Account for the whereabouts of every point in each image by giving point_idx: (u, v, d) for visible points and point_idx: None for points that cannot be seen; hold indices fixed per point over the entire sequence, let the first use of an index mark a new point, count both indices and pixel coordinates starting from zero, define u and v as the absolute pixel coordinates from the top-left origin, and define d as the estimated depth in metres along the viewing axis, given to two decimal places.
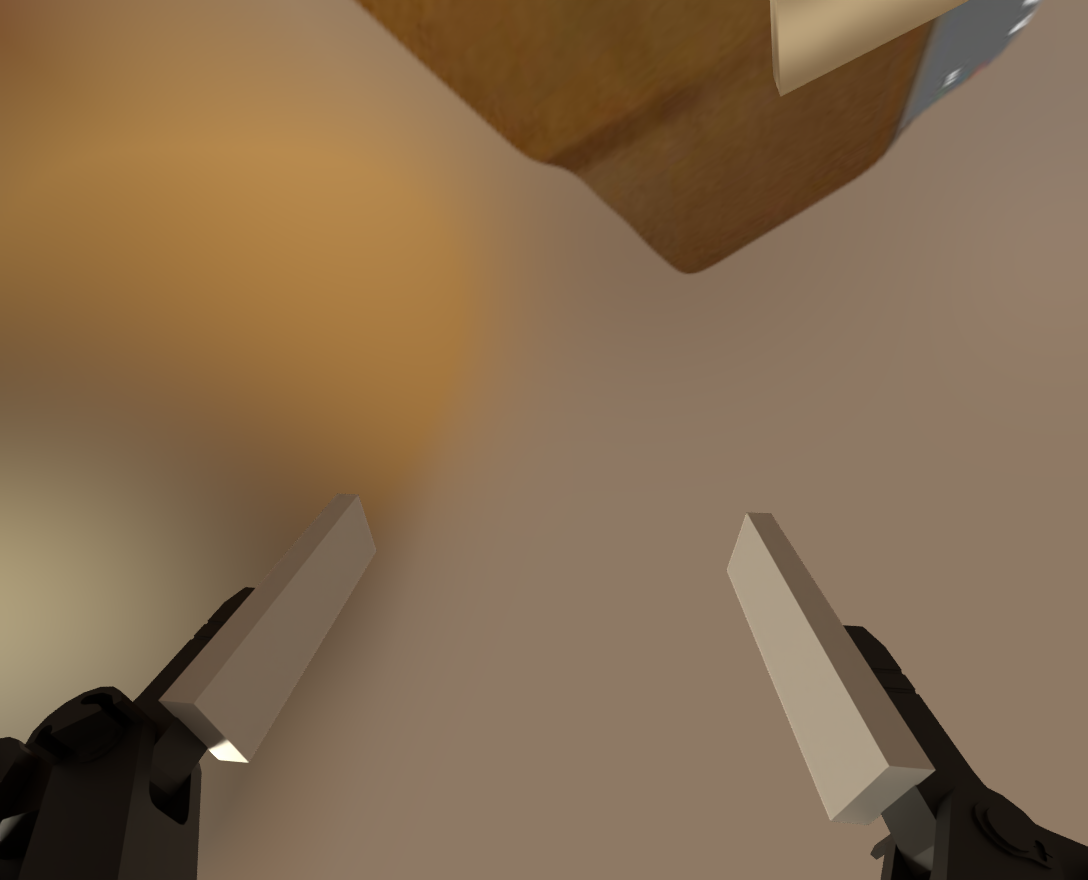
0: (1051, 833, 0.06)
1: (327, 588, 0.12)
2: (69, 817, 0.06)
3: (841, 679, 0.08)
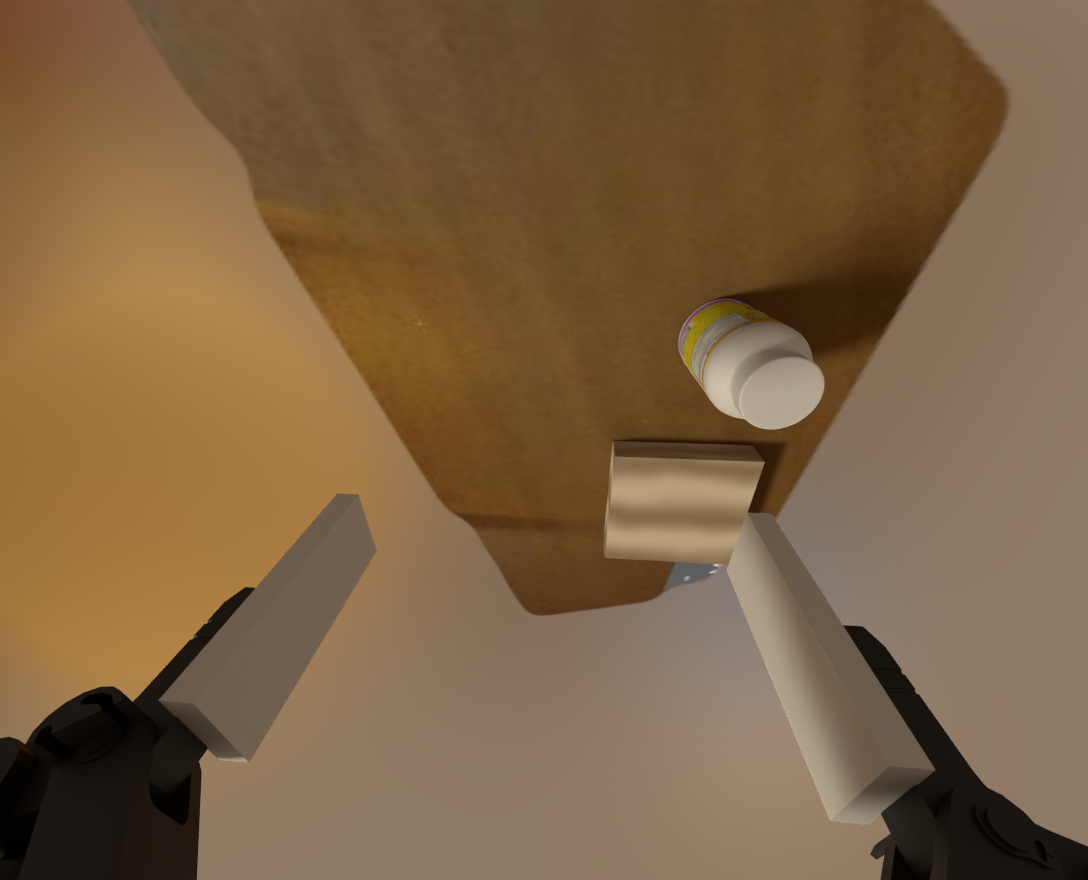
0: (1052, 833, 0.06)
1: (327, 588, 0.12)
2: (69, 817, 0.06)
3: (841, 679, 0.08)
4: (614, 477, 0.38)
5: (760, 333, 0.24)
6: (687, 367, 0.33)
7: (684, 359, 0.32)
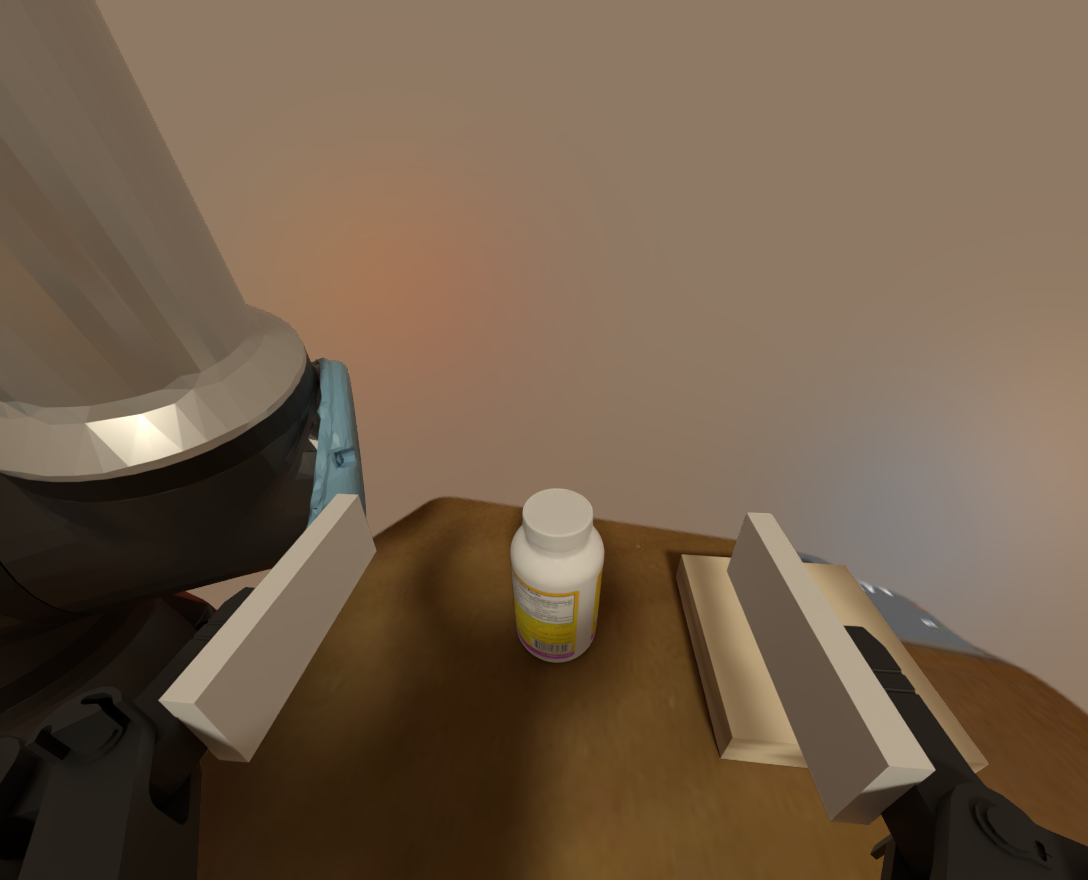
0: (1052, 833, 0.06)
1: (327, 588, 0.12)
2: (69, 817, 0.06)
3: (841, 679, 0.08)
4: (775, 739, 0.23)
5: (514, 547, 0.26)
6: (581, 642, 0.28)
7: (570, 644, 0.28)
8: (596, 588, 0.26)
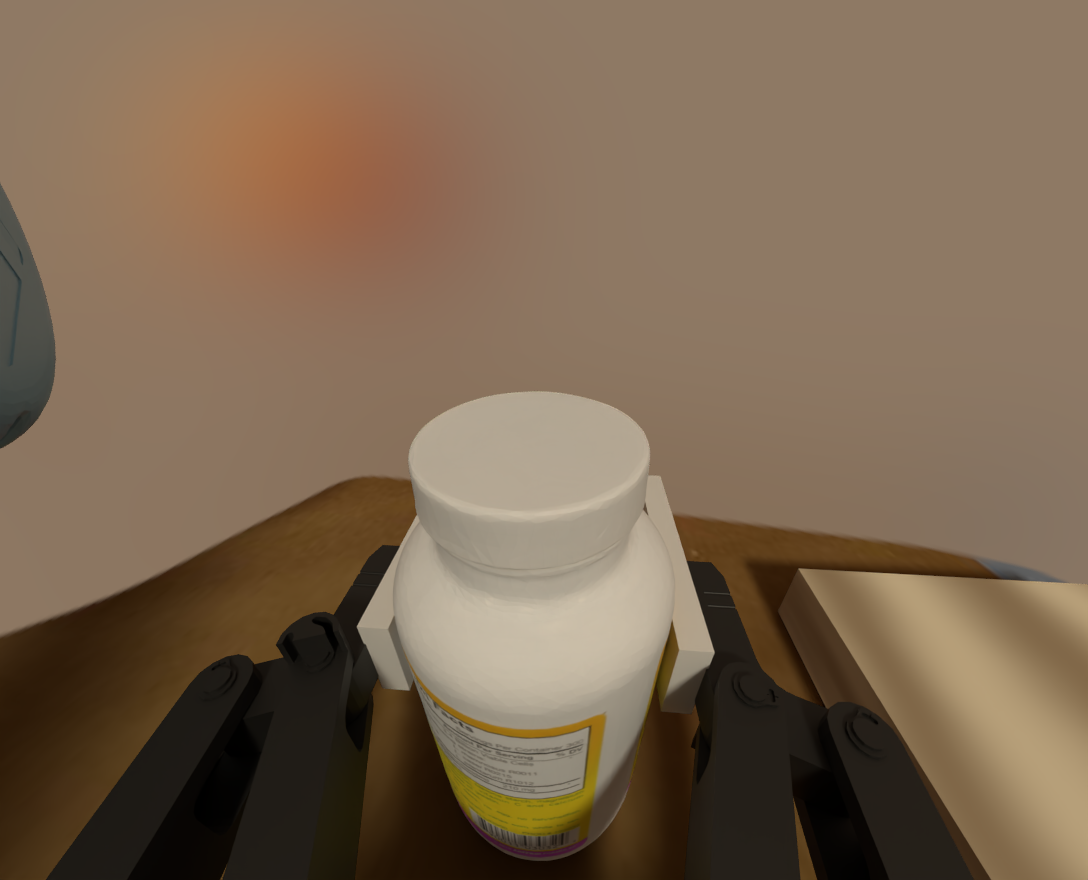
0: (799, 698, 0.08)
1: None
2: (295, 716, 0.07)
3: None
4: None
5: (402, 563, 0.09)
6: (606, 813, 0.11)
7: (576, 830, 0.10)
8: (653, 684, 0.09)
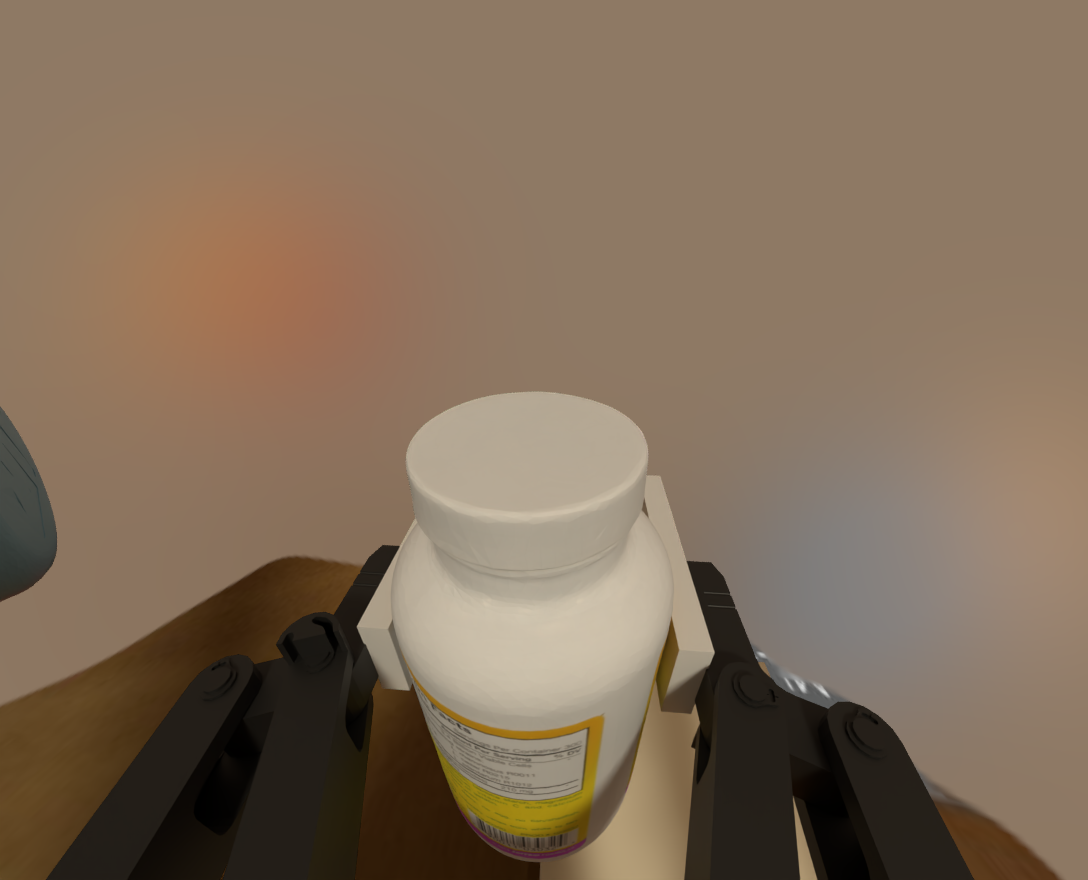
0: (799, 698, 0.08)
1: None
2: (295, 716, 0.07)
3: None
4: None
5: (399, 563, 0.08)
6: (605, 815, 0.11)
7: (575, 831, 0.10)
8: (652, 685, 0.09)
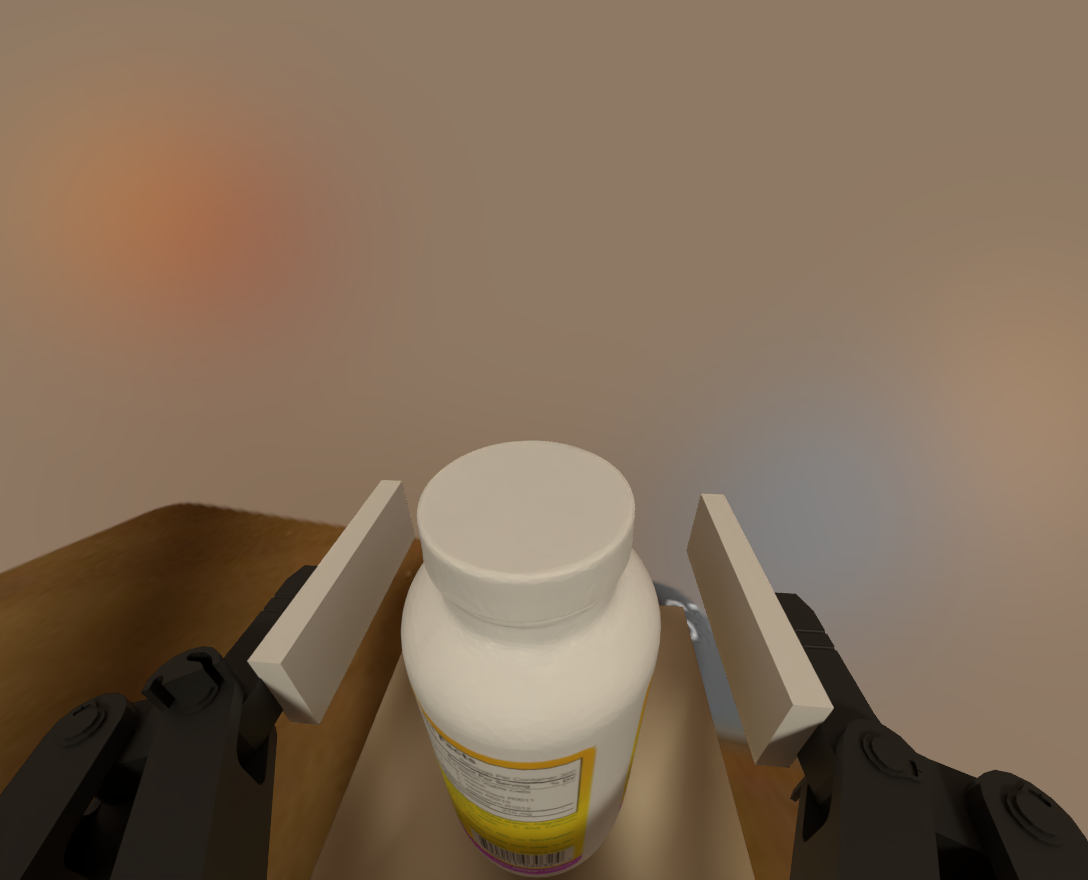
0: (933, 761, 0.07)
1: (378, 568, 0.12)
2: (172, 763, 0.07)
3: (764, 635, 0.09)
4: None
5: (409, 603, 0.09)
6: (599, 832, 0.11)
7: (571, 849, 0.11)
8: (641, 714, 0.09)
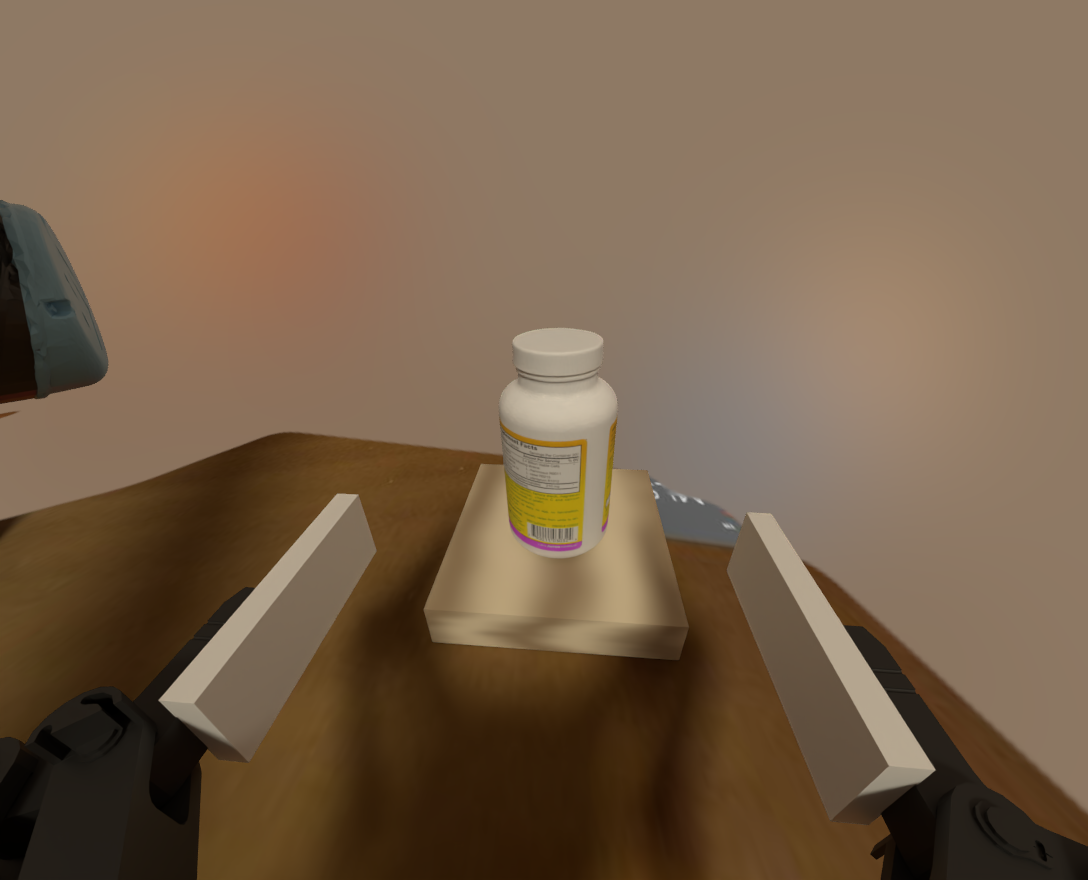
0: (1051, 833, 0.06)
1: (327, 588, 0.12)
2: (69, 817, 0.06)
3: (841, 679, 0.08)
4: (469, 609, 0.21)
5: (503, 396, 0.20)
6: (590, 528, 0.22)
7: (576, 529, 0.22)
8: (608, 448, 0.21)
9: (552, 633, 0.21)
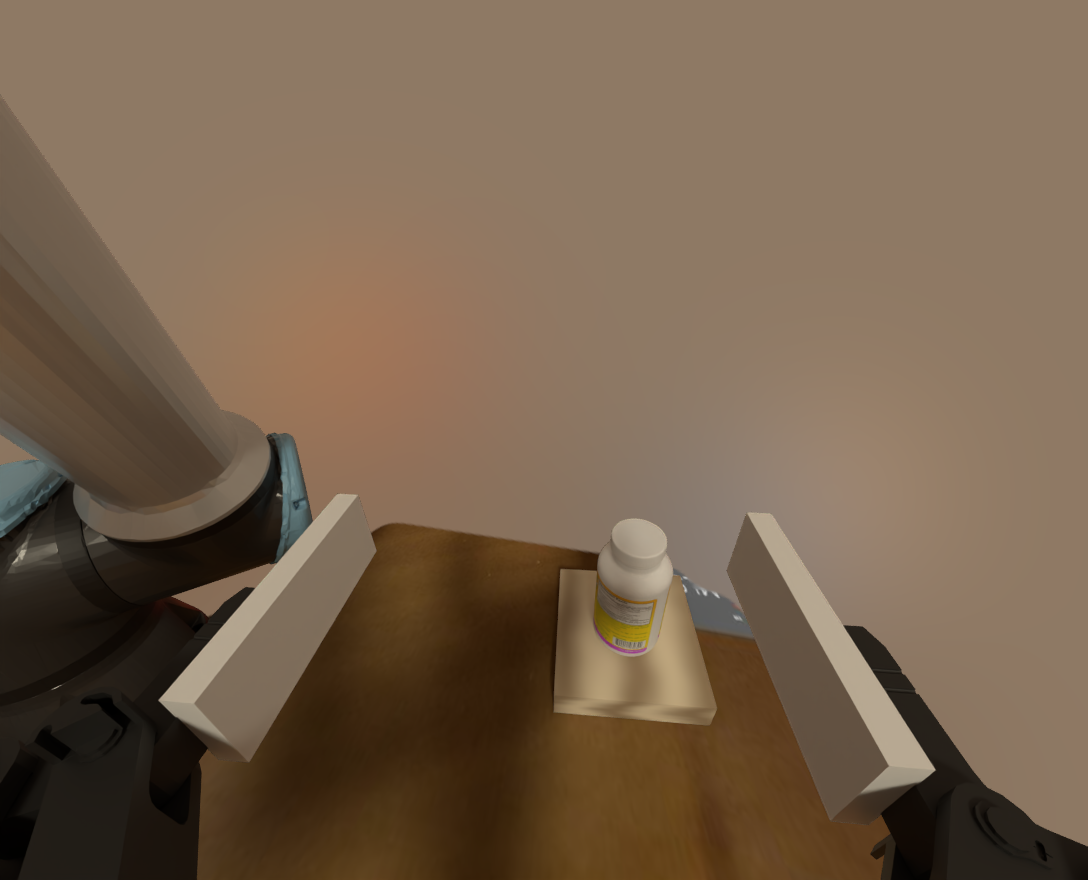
0: (1050, 832, 0.06)
1: (327, 588, 0.12)
2: (69, 817, 0.06)
3: (841, 679, 0.08)
4: (582, 695, 0.34)
5: (603, 565, 0.34)
6: (652, 639, 0.36)
7: (644, 641, 0.35)
8: (667, 597, 0.34)
9: (632, 709, 0.34)
